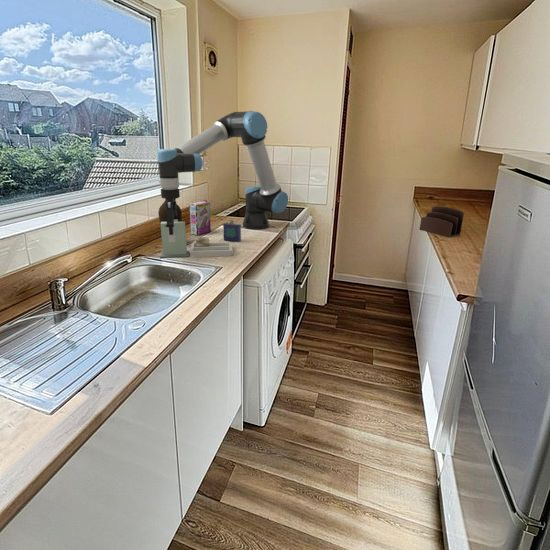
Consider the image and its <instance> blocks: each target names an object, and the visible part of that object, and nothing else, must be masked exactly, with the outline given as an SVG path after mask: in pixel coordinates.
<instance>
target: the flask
mask: <svg viewBox="0 0 550 550" xmlns="http://www.w3.org/2000/svg"><path fill="white" fill-rule="evenodd" d="M222 224H223V225H222V226H223V228H222V229H223V242H231V243H232V242H233V243H240V242H242V233H241V232H242V229H241V228H242V225H241V223H234V220H233V219H230V220H229V221H226V222H223V223H222Z"/></svg>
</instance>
